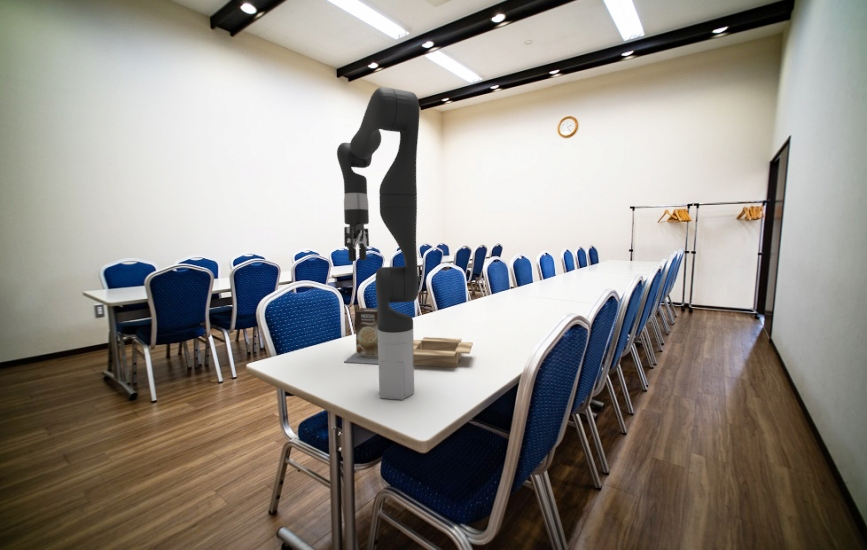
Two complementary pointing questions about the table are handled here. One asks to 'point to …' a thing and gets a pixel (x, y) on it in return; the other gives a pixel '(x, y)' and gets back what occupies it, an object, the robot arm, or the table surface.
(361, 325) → the coffee box
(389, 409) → the table surface
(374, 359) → the mat
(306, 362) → the table surface
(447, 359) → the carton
